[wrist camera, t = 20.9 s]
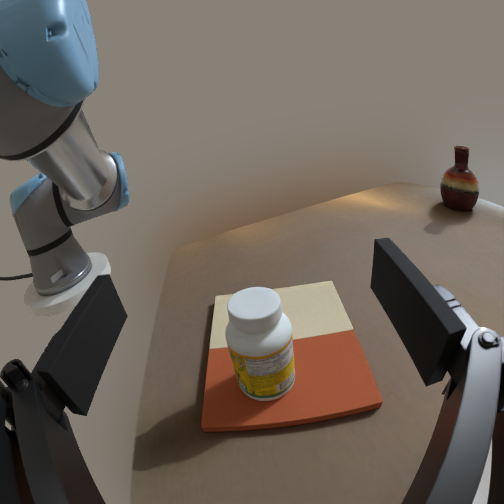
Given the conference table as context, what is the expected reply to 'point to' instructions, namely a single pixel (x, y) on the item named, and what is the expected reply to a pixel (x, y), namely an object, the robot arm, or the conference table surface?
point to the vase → (460, 183)
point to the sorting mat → (305, 363)
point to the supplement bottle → (260, 343)
